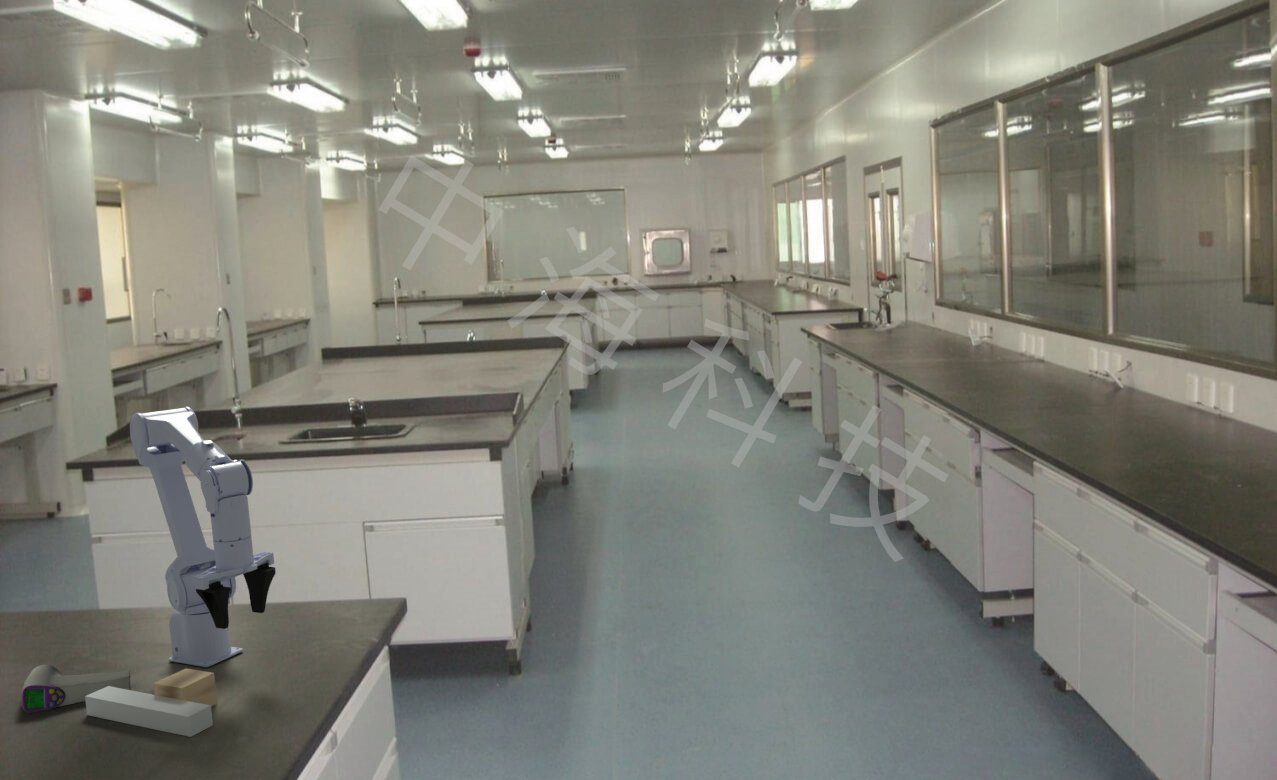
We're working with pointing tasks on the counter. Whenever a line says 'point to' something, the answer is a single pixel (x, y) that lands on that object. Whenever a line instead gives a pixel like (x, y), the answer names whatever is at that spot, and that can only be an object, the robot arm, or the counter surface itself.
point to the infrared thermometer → (65, 687)
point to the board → (149, 711)
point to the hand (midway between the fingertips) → (240, 619)
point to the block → (188, 686)
